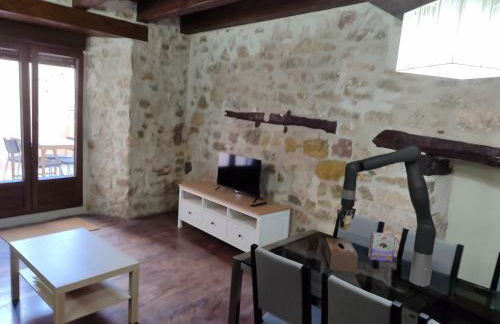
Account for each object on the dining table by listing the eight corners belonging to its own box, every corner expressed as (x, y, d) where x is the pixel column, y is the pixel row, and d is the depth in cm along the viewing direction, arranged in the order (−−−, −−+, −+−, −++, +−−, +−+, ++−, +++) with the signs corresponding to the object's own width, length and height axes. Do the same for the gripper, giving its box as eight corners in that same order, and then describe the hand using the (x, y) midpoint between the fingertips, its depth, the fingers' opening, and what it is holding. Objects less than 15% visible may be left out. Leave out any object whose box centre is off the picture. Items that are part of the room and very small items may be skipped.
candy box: (390, 258, 222) (393, 233, 219) (392, 262, 216) (396, 236, 214) (367, 256, 223) (370, 231, 221) (369, 260, 217) (373, 234, 215)
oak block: (350, 229, 201) (351, 216, 200) (344, 230, 198) (346, 216, 197) (343, 227, 205) (345, 213, 204) (338, 228, 202) (340, 214, 201)
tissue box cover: (355, 272, 197) (358, 255, 196) (329, 269, 198) (331, 252, 197) (347, 255, 222) (349, 240, 221) (324, 252, 223) (326, 237, 222)
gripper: (345, 199, 192) (341, 230, 194) (361, 198, 200) (358, 227, 202) (334, 196, 198) (331, 226, 200) (351, 195, 206) (347, 223, 208)
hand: (344, 226), depth 201 cm, fingers closed on oak block, 4 cm apart
